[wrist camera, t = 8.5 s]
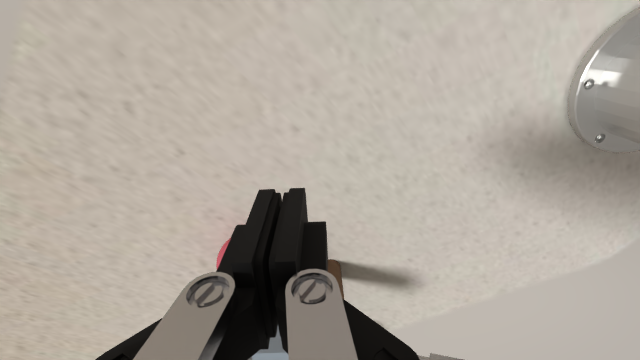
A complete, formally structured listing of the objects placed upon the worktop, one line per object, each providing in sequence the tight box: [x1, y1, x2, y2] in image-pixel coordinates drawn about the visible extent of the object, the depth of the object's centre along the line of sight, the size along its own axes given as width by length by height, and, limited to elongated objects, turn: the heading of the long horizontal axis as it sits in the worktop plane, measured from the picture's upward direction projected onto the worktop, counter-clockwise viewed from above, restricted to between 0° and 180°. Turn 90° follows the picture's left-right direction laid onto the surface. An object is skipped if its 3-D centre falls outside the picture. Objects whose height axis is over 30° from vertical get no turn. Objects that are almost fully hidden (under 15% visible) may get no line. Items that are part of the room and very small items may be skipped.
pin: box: [328, 260, 344, 299], centre depth 32 cm, size 2×2×8 cm
